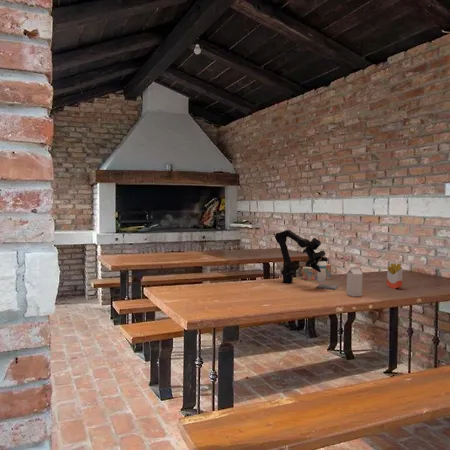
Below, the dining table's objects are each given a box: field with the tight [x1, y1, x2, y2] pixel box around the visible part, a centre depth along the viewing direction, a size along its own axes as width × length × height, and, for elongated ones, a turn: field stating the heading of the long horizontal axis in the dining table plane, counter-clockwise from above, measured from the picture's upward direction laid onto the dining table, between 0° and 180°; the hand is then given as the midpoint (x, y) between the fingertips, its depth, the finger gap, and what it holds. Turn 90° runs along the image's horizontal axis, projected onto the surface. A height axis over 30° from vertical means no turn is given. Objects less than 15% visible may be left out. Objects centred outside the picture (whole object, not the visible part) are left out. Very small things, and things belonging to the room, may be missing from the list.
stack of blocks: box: [302, 263, 332, 281], centre depth 338 cm, size 21×6×12 cm, turn 89°
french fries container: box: [386, 262, 404, 290], centre depth 306 cm, size 5×11×18 cm, turn 20°
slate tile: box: [316, 283, 339, 291], centre depth 306 cm, size 13×11×1 cm
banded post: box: [316, 261, 327, 283], centre depth 296 cm, size 6×6×14 cm
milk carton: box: [346, 266, 363, 298], centre depth 281 cm, size 7×7×19 cm
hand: (323, 271), depth 295 cm, fingers closed on banded post, 6 cm apart
